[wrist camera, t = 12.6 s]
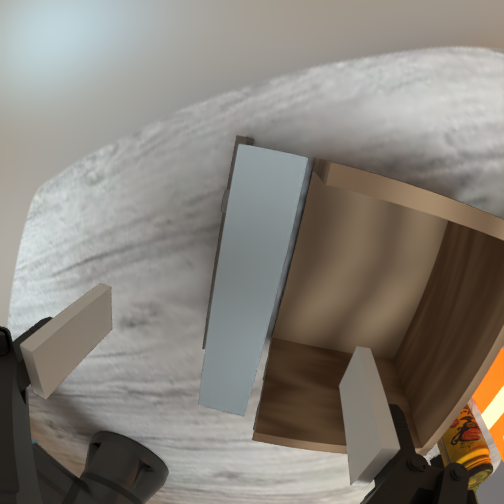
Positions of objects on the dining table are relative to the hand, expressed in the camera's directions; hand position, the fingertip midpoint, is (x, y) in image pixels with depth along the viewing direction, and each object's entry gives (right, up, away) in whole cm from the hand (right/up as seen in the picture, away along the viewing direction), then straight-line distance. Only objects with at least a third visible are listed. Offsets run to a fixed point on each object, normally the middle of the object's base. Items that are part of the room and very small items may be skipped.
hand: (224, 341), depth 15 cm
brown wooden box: (+9, +3, +12) cm, 15 cm away
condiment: (+29, -19, +17) cm, 38 cm away
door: (+2, +5, +13) cm, 14 cm away
